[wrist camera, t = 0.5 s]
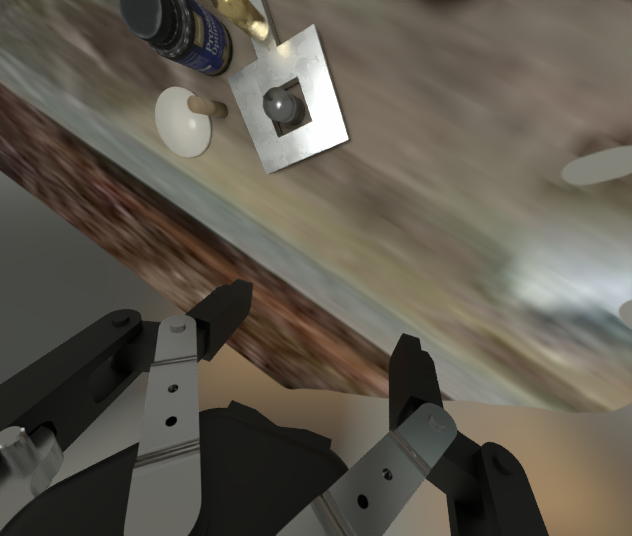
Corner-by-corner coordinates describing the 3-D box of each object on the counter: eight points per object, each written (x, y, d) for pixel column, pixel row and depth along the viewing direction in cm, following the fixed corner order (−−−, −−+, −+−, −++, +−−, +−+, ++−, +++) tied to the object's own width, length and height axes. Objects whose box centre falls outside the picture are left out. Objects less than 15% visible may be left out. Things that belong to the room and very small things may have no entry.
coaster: (161, 76, 36) (158, 75, 35) (217, 104, 36) (215, 104, 35) (155, 141, 40) (152, 141, 40) (205, 167, 40) (203, 167, 40)
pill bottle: (240, 65, 33) (180, 31, 23) (203, 84, 35) (134, 61, 25) (220, 5, 31) (145, -59, 21) (182, 30, 33) (98, -19, 23)
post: (286, 92, 33) (267, 81, 28) (308, 103, 33) (293, 94, 28) (278, 118, 35) (259, 113, 29) (299, 129, 35) (284, 125, 29)
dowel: (217, 100, 36) (188, 92, 30) (229, 106, 36) (201, 99, 30) (215, 114, 36) (186, 109, 31) (226, 120, 36) (199, 115, 31)
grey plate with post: (350, 139, 33) (338, 137, 25) (272, 173, 38) (240, 180, 29) (300, -29, 28) (265, -102, 20) (215, 33, 32) (157, -6, 24)
